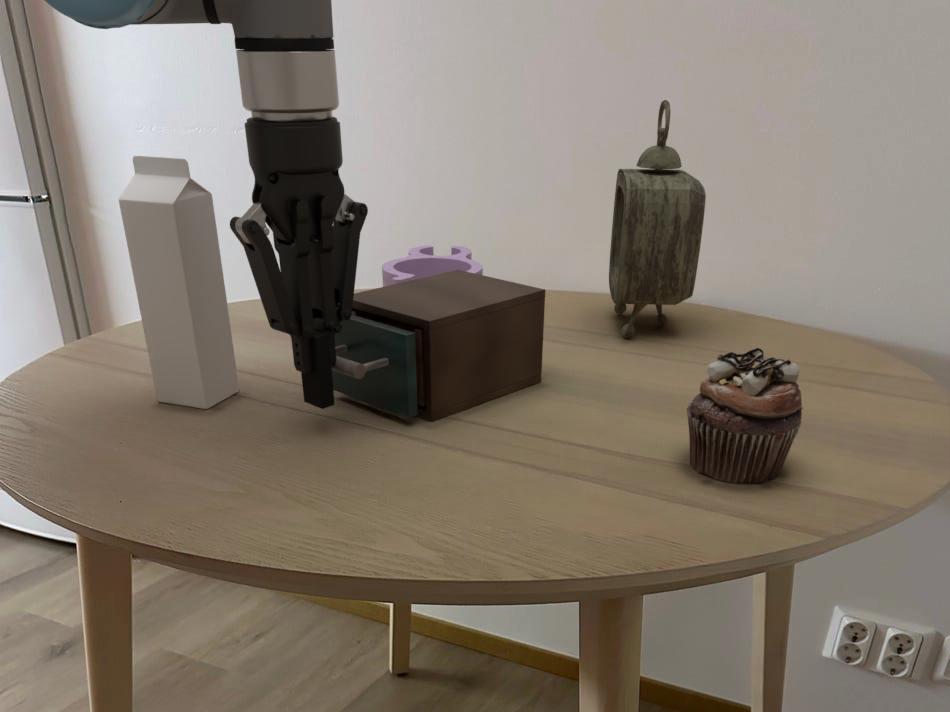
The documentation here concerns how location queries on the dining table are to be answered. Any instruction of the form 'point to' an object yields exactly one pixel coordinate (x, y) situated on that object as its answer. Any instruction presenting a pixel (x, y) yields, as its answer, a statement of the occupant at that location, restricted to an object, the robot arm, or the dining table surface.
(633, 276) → the tabletop clock
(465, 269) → the clip
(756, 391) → the cupcake
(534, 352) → the cabinet
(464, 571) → the dining table surface
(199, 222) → the milk
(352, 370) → the drawer
